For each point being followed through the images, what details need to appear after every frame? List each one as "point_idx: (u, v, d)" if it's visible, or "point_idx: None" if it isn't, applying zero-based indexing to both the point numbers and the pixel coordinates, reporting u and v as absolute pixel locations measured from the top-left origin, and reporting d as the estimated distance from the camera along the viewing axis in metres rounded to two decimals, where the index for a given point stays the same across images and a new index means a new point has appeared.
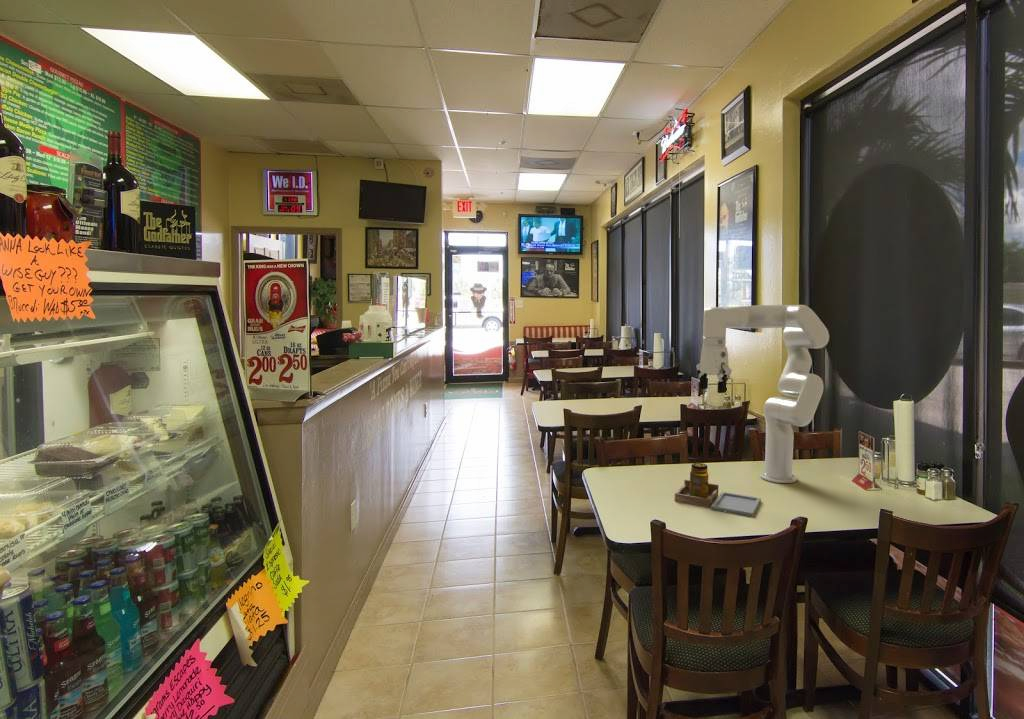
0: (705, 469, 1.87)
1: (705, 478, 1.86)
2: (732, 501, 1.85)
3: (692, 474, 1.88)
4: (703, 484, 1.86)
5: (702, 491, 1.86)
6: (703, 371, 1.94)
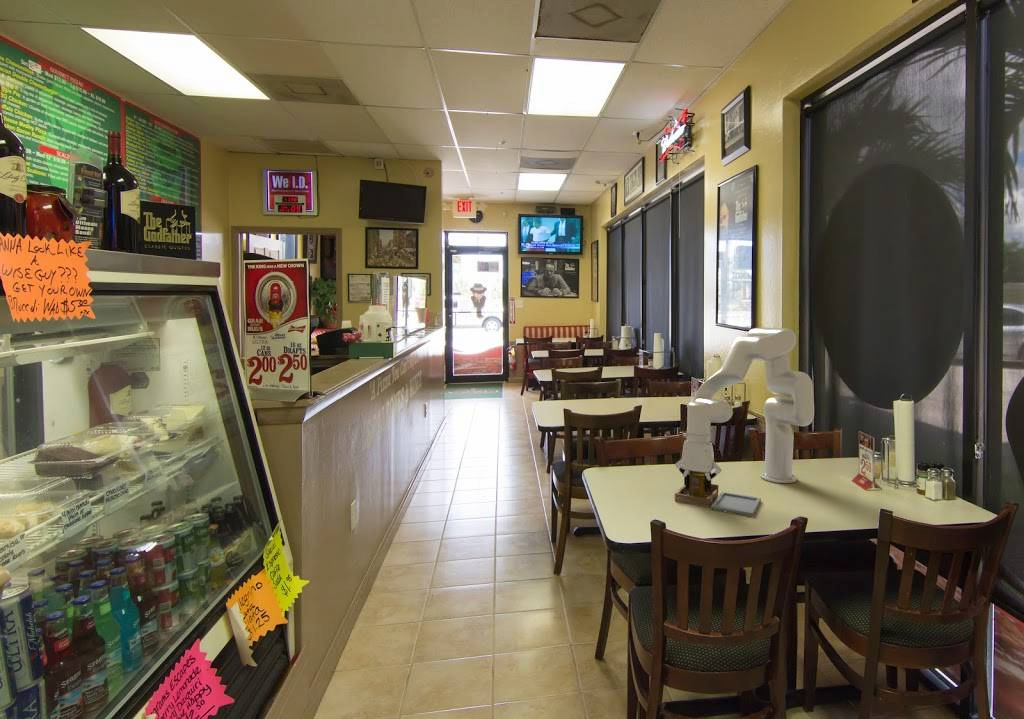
0: None
1: (704, 478, 1.86)
2: (732, 501, 1.85)
3: (691, 474, 1.88)
4: (703, 484, 1.86)
5: (702, 490, 1.87)
6: None
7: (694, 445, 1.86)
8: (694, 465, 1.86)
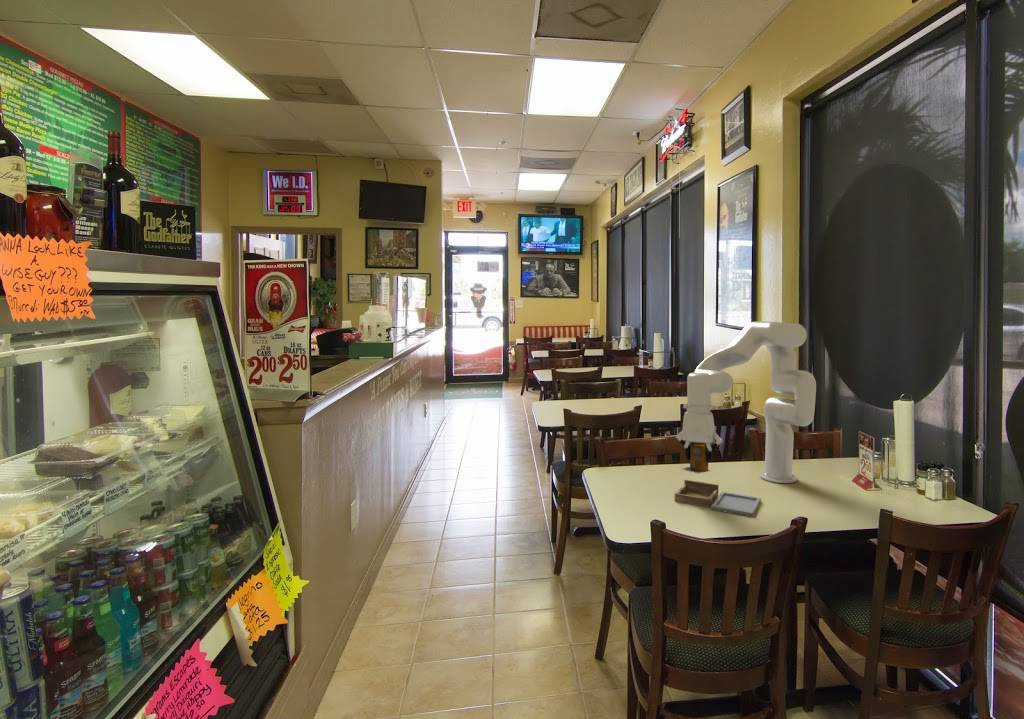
0: None
1: (705, 448, 1.86)
2: (732, 501, 1.85)
3: (692, 445, 1.87)
4: (704, 455, 1.86)
5: (703, 461, 1.86)
6: None
7: (694, 416, 1.85)
8: (694, 436, 1.85)
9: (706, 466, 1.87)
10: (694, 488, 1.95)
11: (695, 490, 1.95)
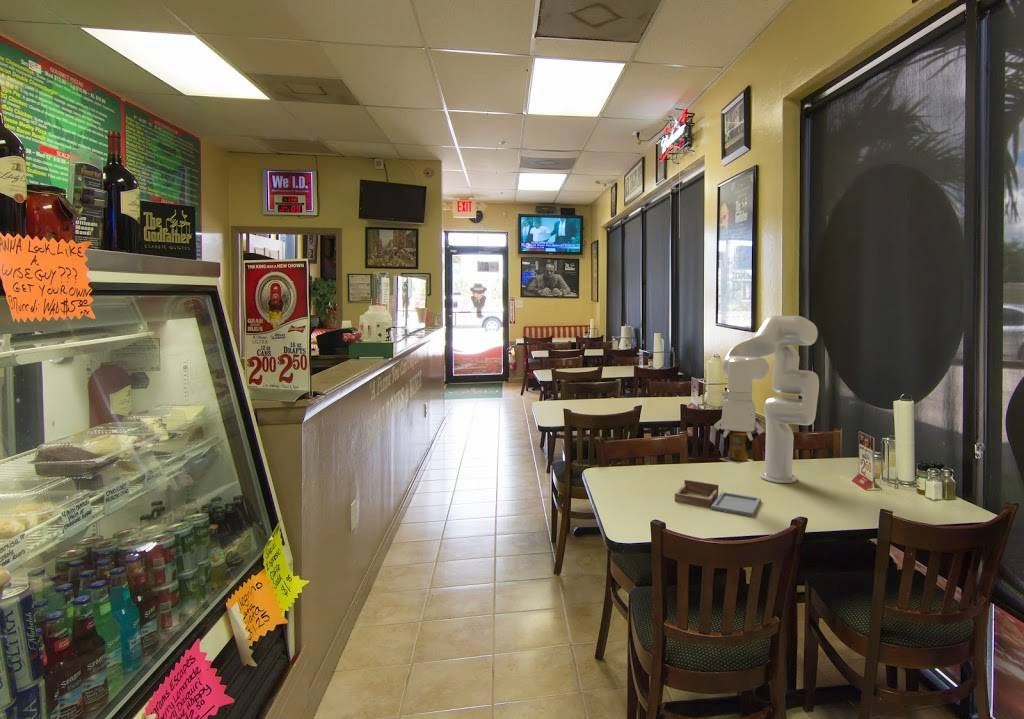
0: None
1: (745, 437, 1.78)
2: (732, 501, 1.85)
3: (732, 434, 1.80)
4: (744, 444, 1.78)
5: (743, 451, 1.78)
6: None
7: (735, 403, 1.77)
8: (735, 424, 1.78)
9: (746, 456, 1.79)
10: (694, 488, 1.95)
11: (695, 490, 1.95)
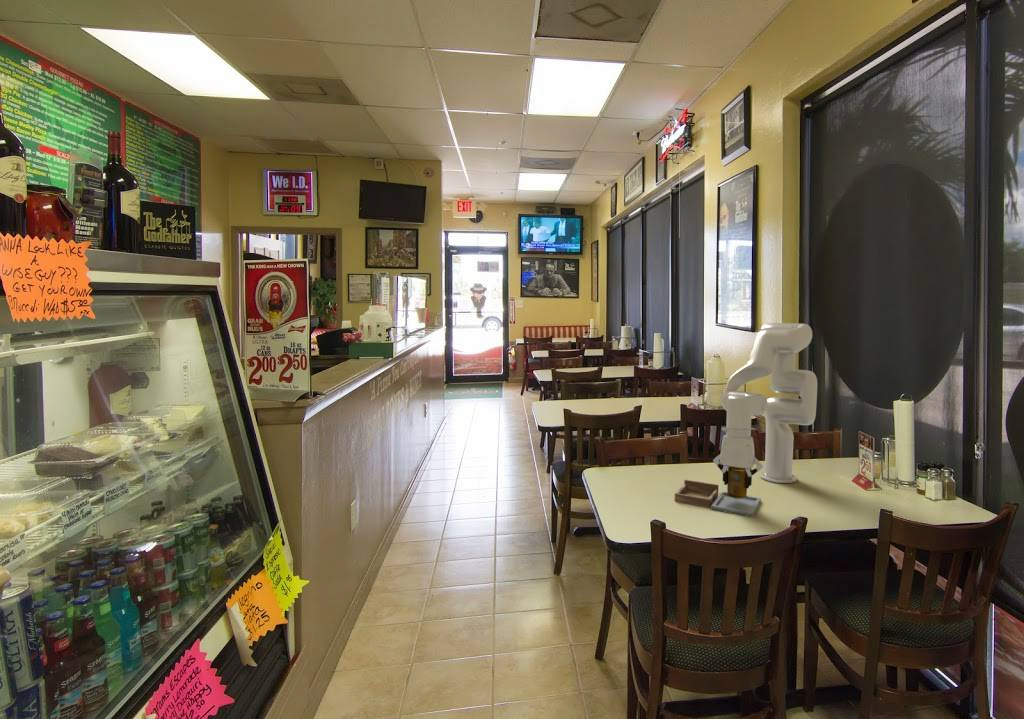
0: None
1: (744, 474, 1.79)
2: (732, 501, 1.85)
3: (731, 470, 1.81)
4: (743, 480, 1.79)
5: (742, 487, 1.79)
6: None
7: (734, 440, 1.78)
8: (734, 460, 1.79)
9: (745, 492, 1.80)
10: (694, 488, 1.95)
11: (695, 490, 1.95)
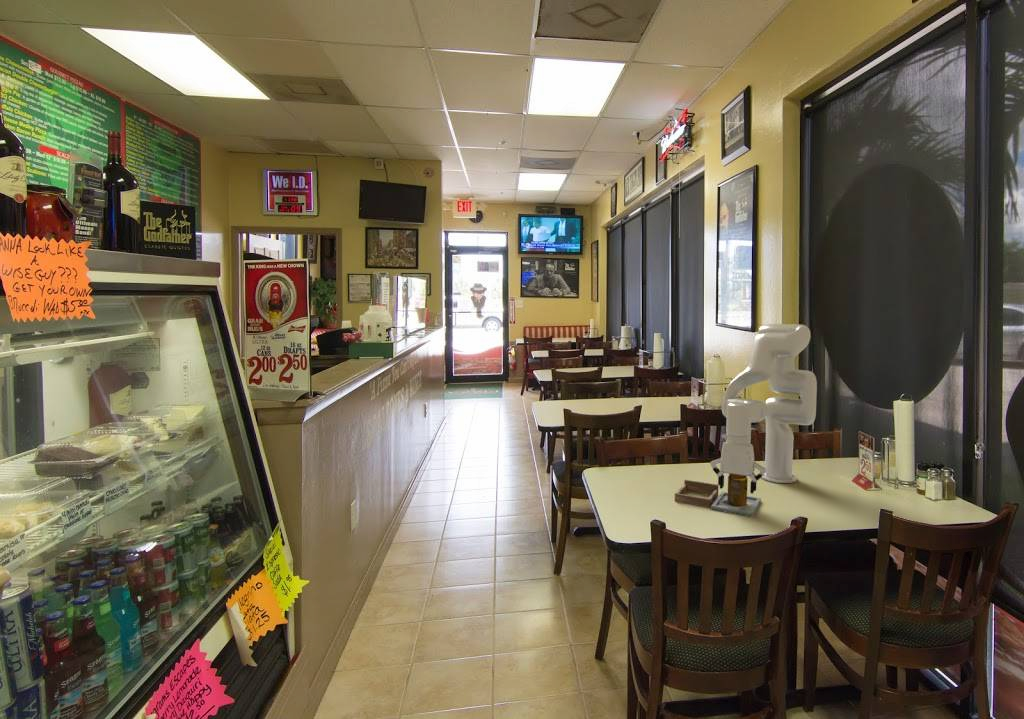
0: None
1: (744, 483, 1.79)
2: None
3: (731, 478, 1.81)
4: (743, 489, 1.79)
5: (742, 496, 1.79)
6: None
7: (734, 447, 1.79)
8: (733, 468, 1.79)
9: (745, 500, 1.80)
10: (694, 488, 1.95)
11: (695, 490, 1.95)
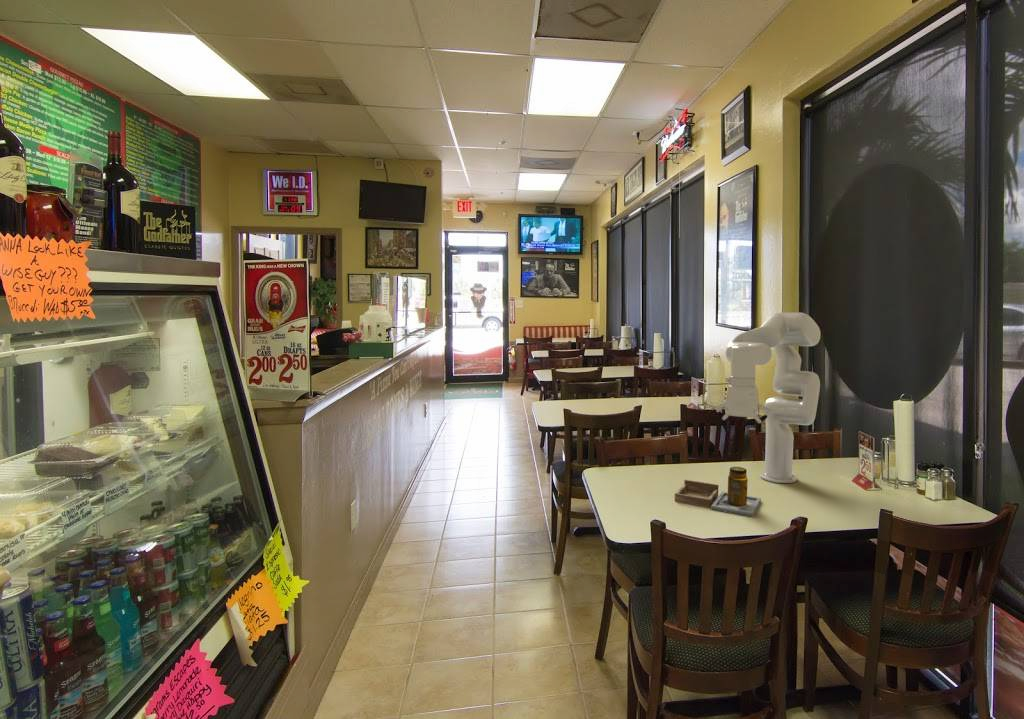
0: (744, 473, 1.80)
1: (744, 483, 1.79)
2: None
3: (731, 478, 1.81)
4: (743, 489, 1.79)
5: (742, 496, 1.79)
6: None
7: (739, 389, 1.79)
8: (738, 410, 1.79)
9: (745, 500, 1.80)
10: (694, 488, 1.95)
11: (695, 490, 1.95)
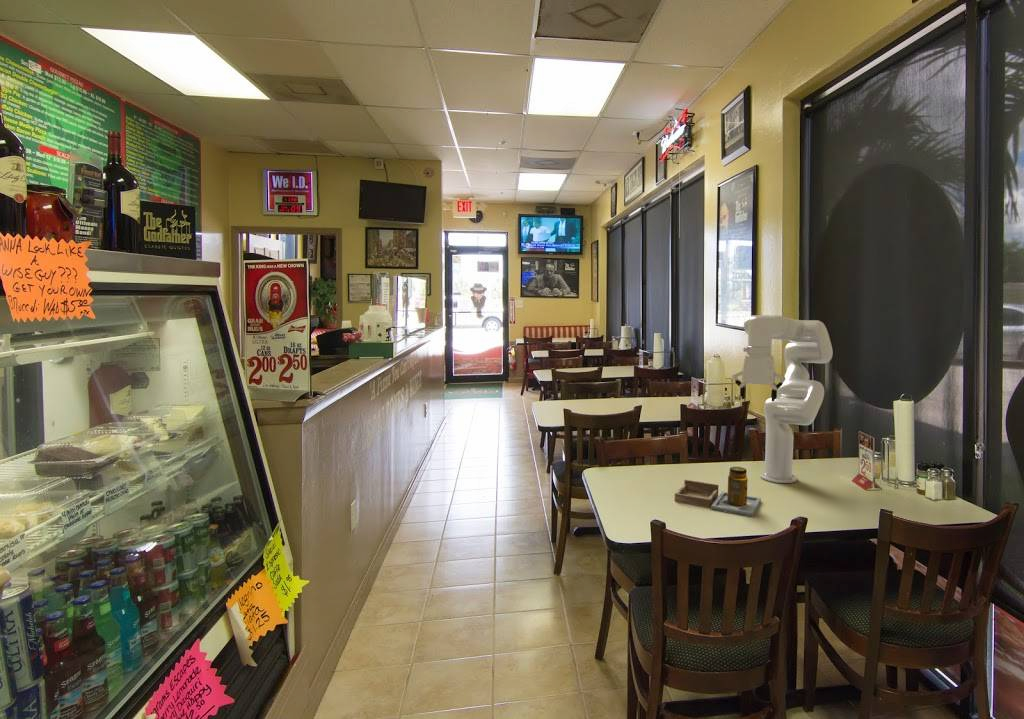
0: (744, 473, 1.80)
1: (744, 483, 1.79)
2: None
3: (731, 478, 1.81)
4: (743, 489, 1.79)
5: (742, 496, 1.79)
6: None
7: (756, 358, 1.89)
8: (755, 377, 1.90)
9: (745, 500, 1.80)
10: (694, 488, 1.95)
11: (695, 490, 1.95)
